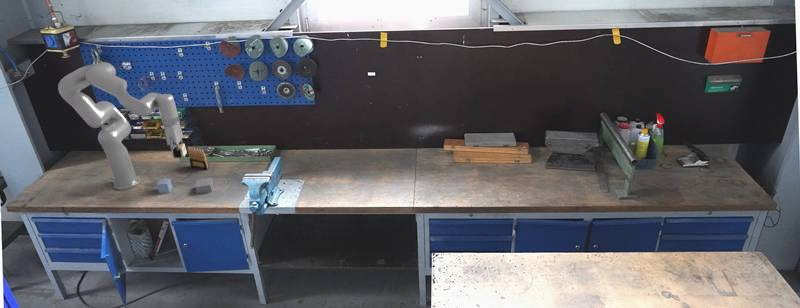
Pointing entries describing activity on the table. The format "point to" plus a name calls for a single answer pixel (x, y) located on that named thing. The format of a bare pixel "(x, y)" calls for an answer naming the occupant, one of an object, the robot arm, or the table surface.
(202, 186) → the base block
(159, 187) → the blue cube
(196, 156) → the ammunition clip
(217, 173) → the table surface
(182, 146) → the maple cube
